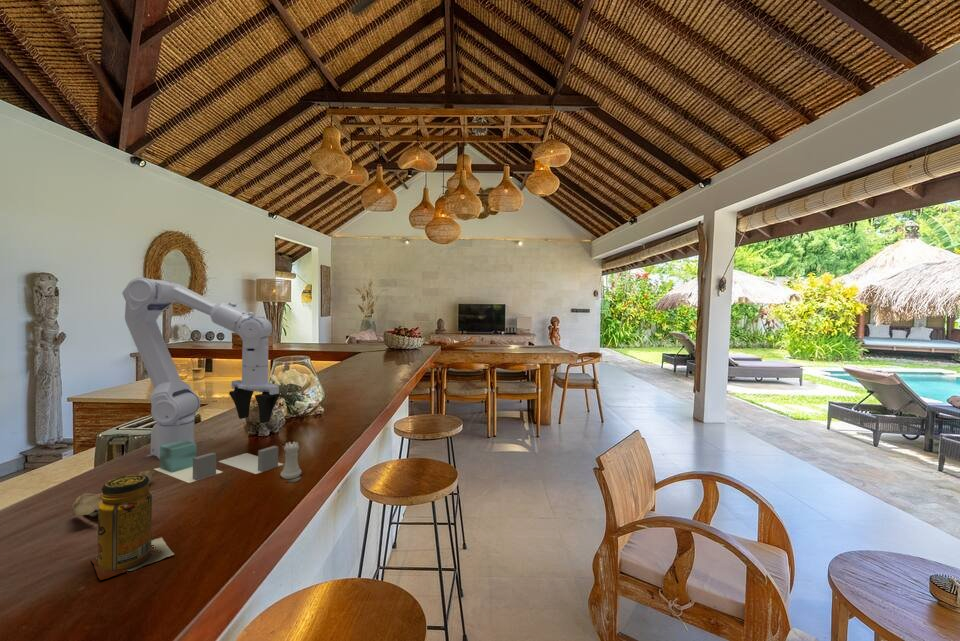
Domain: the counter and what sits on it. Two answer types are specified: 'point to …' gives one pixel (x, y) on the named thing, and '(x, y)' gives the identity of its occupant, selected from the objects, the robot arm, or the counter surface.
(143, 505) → the condiment
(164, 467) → the teal block
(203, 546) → the counter surface
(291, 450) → the rook chess piece
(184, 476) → the cream strip
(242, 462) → the cream and grey bookend
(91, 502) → the seashell
